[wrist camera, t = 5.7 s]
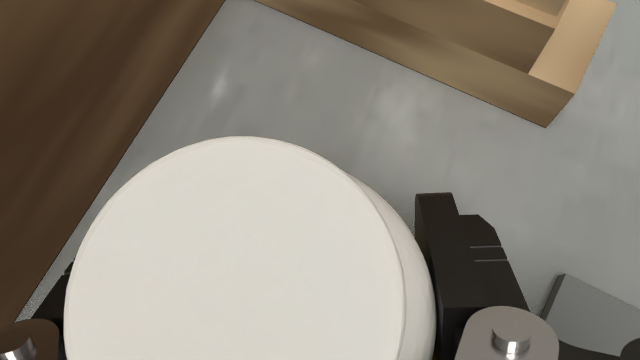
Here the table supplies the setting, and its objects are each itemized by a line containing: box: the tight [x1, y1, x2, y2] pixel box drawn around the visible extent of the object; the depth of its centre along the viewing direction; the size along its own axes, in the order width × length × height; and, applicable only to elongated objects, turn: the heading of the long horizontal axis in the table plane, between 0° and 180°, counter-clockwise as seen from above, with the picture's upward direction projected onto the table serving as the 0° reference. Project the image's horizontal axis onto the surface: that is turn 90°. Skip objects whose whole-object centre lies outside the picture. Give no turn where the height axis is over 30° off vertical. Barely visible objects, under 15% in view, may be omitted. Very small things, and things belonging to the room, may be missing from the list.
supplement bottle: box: [64, 136, 436, 360], centre depth 11 cm, size 5×5×10 cm
